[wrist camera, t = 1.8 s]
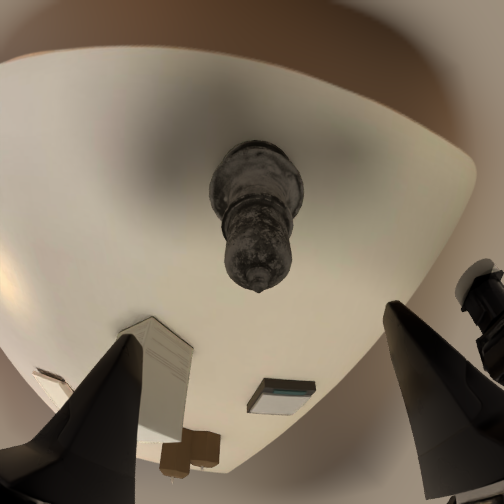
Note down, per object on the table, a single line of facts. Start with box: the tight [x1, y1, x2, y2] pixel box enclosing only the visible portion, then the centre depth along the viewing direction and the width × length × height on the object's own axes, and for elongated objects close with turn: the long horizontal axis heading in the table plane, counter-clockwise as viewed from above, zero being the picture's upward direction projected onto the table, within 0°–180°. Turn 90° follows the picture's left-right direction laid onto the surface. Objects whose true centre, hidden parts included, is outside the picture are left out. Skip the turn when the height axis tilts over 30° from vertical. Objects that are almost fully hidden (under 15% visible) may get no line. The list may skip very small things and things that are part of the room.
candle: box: [159, 428, 221, 484], centre depth 51 cm, size 14×14×15 cm
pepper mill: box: [209, 140, 304, 293], centre depth 15 cm, size 6×6×12 cm
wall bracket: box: [32, 371, 73, 410], centre depth 50 cm, size 10×7×28 cm
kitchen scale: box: [247, 378, 316, 415], centre depth 40 cm, size 11×8×2 cm
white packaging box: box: [116, 317, 193, 443], centre depth 27 cm, size 7×7×13 cm
